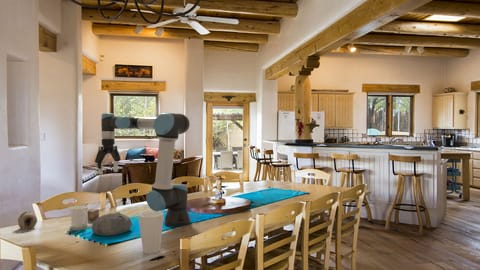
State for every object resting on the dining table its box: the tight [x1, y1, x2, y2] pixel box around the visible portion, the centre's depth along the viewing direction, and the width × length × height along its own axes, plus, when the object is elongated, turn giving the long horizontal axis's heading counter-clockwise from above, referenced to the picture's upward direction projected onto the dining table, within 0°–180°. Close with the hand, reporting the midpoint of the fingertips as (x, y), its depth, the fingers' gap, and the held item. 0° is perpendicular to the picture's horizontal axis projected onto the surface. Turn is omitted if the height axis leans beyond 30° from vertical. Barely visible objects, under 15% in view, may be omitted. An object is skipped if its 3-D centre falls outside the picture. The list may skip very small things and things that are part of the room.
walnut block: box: [88, 208, 100, 221], centre depth 215 cm, size 6×6×6 cm
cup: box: [138, 210, 165, 255], centre depth 159 cm, size 11×10×17 cm
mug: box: [70, 205, 89, 228], centre depth 199 cm, size 9×12×11 cm
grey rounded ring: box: [17, 211, 38, 231], centre depth 197 cm, size 9×8×10 cm
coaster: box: [69, 223, 93, 231], centre depth 199 cm, size 12×12×1 cm
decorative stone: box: [91, 211, 133, 236], centre depth 189 cm, size 18×21×10 cm
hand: (108, 172), depth 217 cm, fingers open, 13 cm apart
